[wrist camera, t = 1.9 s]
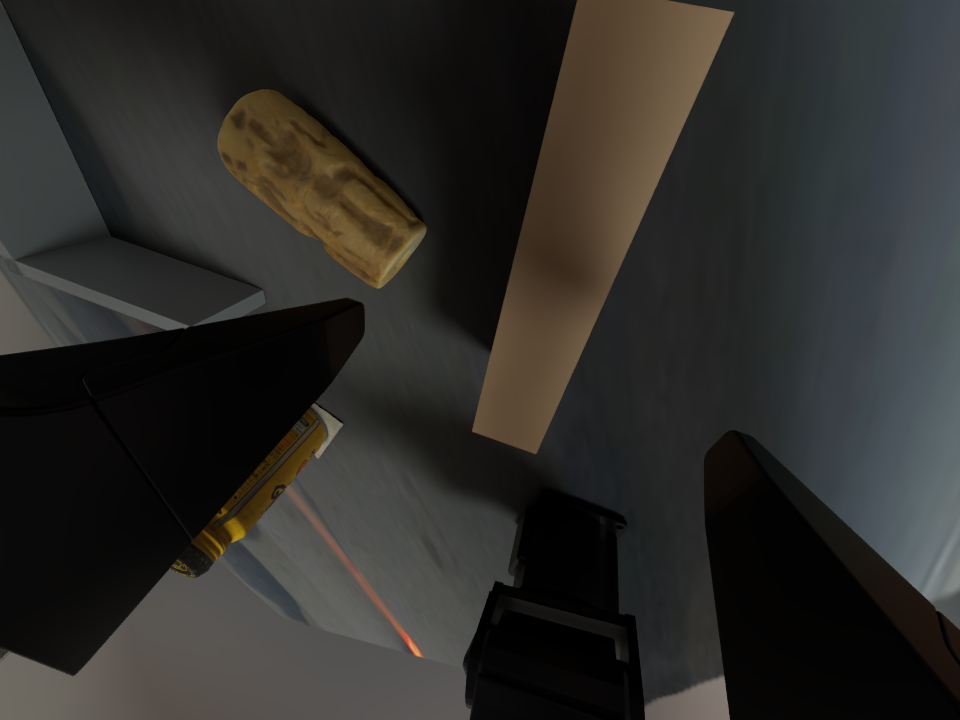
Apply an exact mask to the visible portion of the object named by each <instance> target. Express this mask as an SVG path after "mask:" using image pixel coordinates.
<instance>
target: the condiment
mask: <svg viewBox="0 0 960 720" xmlns="http://www.w3.org/2000/svg"><path fill="white" fill-rule="evenodd" d="M342 425H343V424H342V423H341V422H339V421H338V420H336V419H335V418H334V417H332V416H331V415H330V414H329V413H327V412H326V411H325V410H323V409H321V408H319V406H318V405H316V404H315V403H314V404H313V405H312V406H311V407H310V408H309V409H308V410H307V412H306V413H305V414H304V415H303V416H302V417H301V418H300V420H299V421H298V422H297V423H296V424H295V425H294V426H293V428H292V429H291V430H290V431H289V432H288V433H287V435H286V436H285V437H284V438H283V439H282V440H281V441H280V443H279V444H278V445H277V446H276V447H275V448H274V449H273V451H272V452H271V453H270V454H269V455H268V456H267V457H266V459H265V460H264V461H263V462H262V463H261V464H260V465H259V467H258V468H257V469H256V470H255V471H254V472H253V473H252V475H251V476H250V477H249V478H248V479H247V480H246V481H245V483H244V484H243V485H242V486H241V487H240V488H239V489H238V491H237V492H236V493H235V494H234V495H233V496H232V497H231V499H230V500H229V501H228V502H227V503H226V504H225V505H224V507H223V508H222V509H221V510H220V511H219V512H218V513H217V515H216V516H215V517H214V518H213V519H212V520H211V521H210V523H209V524H208V525H207V526H206V527H205V528H204V529H203V531H202V532H201V533H200V534H199V535H198V536H197V537H196V539H195V540H193V541H192V544H191V545H190V546H189V547H188V548H187V549H186V550H185V552H184V553H183V554H182V555H181V556H180V557H179V558H178V560H177V561H176V562H175V563H174V564H173V565H172V566H171V568H170V569H171V570H173V571H175V572H177V573H180V574H182V575H185V576H187V577H192V578H196V577H199V576H200V575H202V574H204V573H205V572H207V571H208V570H209V568H210V566H212V564H213V563H214V561H215V560H217V558H218V557H219V555H221V554H223V553H224V552H225V551H226V549H227V548H228V545H229V544H230V543H231V542H235V541H237V540H238V539H241V538H243V537H244V536H245V535H246V534H247V533H248V532H249V530H250V529H251V528H252V527H253V526H254V525H255V524H256V522H257V521H258V520H259V519H260V518H261V517H262V515H263V514H264V513H265V512H266V511H267V510H268V508H269V507H270V506H271V505H272V504H273V503H274V502H275V500H276V499H277V498H278V497H279V495H280V494H281V493H282V492H283V491H284V490H285V488H286V487H287V486H288V485H289V484H290V483H291V482H292V481H293V480H294V478H295V476H297V474H298V473H299V472H300V471H301V470H302V469H303V468H304V467H305V466H306V465H307V463H308V462H309V460H310V459H311V458H312V457H313V456H314V455H315V456H316V457H317V458H319V457H320V456H321V454H322V453H323V451H324V450H325V449H326V447H327V446H328V445H329V443H330V442H331V441H332V439H333V438H334V436H335V435H336V434H337V432H338V431H339V430H340V428H341V427H342Z"/></svg>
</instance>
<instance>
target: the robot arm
mask: <svg viewBox="0 0 960 720" xmlns="http://www.w3.org/2000/svg"><path fill="white" fill-rule="evenodd" d="M364 331H365V311H364V305H363V304H362V303H361V302H359V301H356V300H353V299H350V298H343V299H337V300H332V301H326V302H321V303H315V304H310V305H305V306H299V307H294V308H288V309H283V310H277V311H272V312H266V313H261V314H255V315H250V316H245V317H239V318H234V319H228V320H223V321H217V322H212V323H206V324H201V325H195V326H190V327H187V328H186V329H185V328H179V329H173V330H168V331H162V332H157V333H151V334H145V335H139V336H133V337H127V338H120V339H114V340H107V341H100V342H93V343H86V344H79V345H72V346H64V347H57V348H50V349H43V350H36V351H28V352H21V353H14V354H7V355H0V663H1V661H3V660H4V659H5V658H6V657H7V656H8V655H9V654H11V653H15V654H17V655H20V656H22V657H25V658H27V659H30V660H33V661H35V662H38V663H40V664H43V665H46V666H48V667H51V668H53V669H56V670H58V671H61V672H63V673H66V674H68V675H71V676H74V675H76V674H77V673H78V672H79V671H80V670H81V669H82V668H83V667H84V666H85V664H86V663H87V662H88V661H89V660H90V659H91V658H92V657H93V655H94V654H95V653H96V652H97V651H98V650H99V649H100V648H101V647H102V645H103V644H104V643H105V642H106V641H107V640H108V639H109V637H110V636H111V635H112V634H113V633H114V632H115V630H116V629H117V628H118V627H119V626H120V625H121V623H123V621H124V620H125V619H126V618H127V617H128V616H129V615H130V613H131V612H132V611H133V610H134V609H135V608H136V607H137V605H138V604H139V603H140V601H142V600H143V599H144V597H145V596H146V595H147V594H148V592H150V591H151V589H152V588H153V587H154V586H155V584H157V582H158V581H159V580H160V579H161V578H162V577H163V576H164V574H165V573H166V572H167V571H168V570H169V569H170V568H171V566H172V565H173V564H174V563H175V562H176V561H177V560H178V558H179V557H180V556H181V555H182V554H183V553H184V552H185V550H186V549H187V548H188V547H189V546H190V545H191V544H192V541H193V540H195V539H196V537H197V536H198V535H199V534H200V533H201V532H202V531H203V529H204V528H205V527H206V526H207V525H208V524H209V523H210V521H211V520H212V519H213V518H214V517H215V516H216V515H217V513H218V512H219V511H220V510H221V509H222V508H223V507H224V505H225V504H226V503H227V502H228V501H229V500H230V499H231V497H232V496H233V495H234V494H235V493H236V492H237V491H238V489H239V488H240V487H241V486H242V485H243V484H244V483H245V481H246V480H247V479H248V478H249V477H250V476H251V475H252V473H253V472H254V471H255V470H256V469H257V468H258V467H259V465H260V464H261V463H262V462H263V461H264V460H265V459H266V457H267V456H268V455H269V454H270V453H271V452H272V451H273V449H274V448H275V447H276V446H277V445H278V444H279V443H280V441H281V440H282V439H283V438H284V437H285V436H286V435H287V433H288V432H289V431H290V430H291V429H292V428H293V426H294V425H295V424H296V423H297V422H298V421H299V420H300V418H301V417H302V416H303V415H304V414H305V413H306V412H307V410H308V409H309V408H310V407H311V406H312V405H313V404H314V402H315V401H316V400H317V399H318V398H319V397H320V396H321V394H322V393H323V392H324V391H325V390H326V389H327V387H328V386H329V385H330V384H331V383H332V381H333V380H334V379H335V377H336V376H337V375H338V373H339V372H340V370H341V369H342V367H343V366H344V364H345V363H346V361H347V360H348V359H349V357H350V356H351V354H352V353H353V351H354V350H355V348H356V347H357V345H358V344H359V343H360V341H361V340H362V338H363V335H364ZM704 508H705V527H706V537H707V544H708V552H709V560H710V568H711V575H712V583H713V591H714V599H715V606H716V614H717V622H718V630H719V638H720V645H721V653H722V661H723V669H724V676H725V683H726V691H727V700H728V707H729V715H730V720H960V630H959V629H958V628H957V627H956V626H955V625H954V624H953V623H951V621H950V620H949V619H948V618H946V617H945V616H944V615H943V614H942V613H940V612H939V611H936V609H935V607H934V606H933V605H932V604H931V603H930V602H929V601H928V600H927V599H926V598H925V597H924V596H923V595H922V594H921V593H920V592H919V591H917V590H916V589H915V588H914V587H913V586H912V585H911V584H910V583H909V582H908V581H907V580H906V579H905V578H904V577H902V576H901V575H900V574H899V573H898V572H897V571H896V570H895V569H894V568H893V567H892V566H891V565H890V564H889V563H887V562H886V561H885V560H884V559H883V558H882V557H881V556H880V555H879V554H878V553H877V552H876V551H875V550H874V549H872V548H871V547H870V546H869V545H868V544H867V543H866V542H865V541H864V540H863V539H862V538H861V537H860V536H859V535H858V534H856V533H855V532H854V531H853V530H852V529H851V528H850V527H849V526H848V525H847V524H846V523H845V522H844V521H843V520H841V519H840V518H839V517H838V516H837V515H836V514H835V513H834V512H833V511H832V510H831V509H830V508H829V507H828V506H826V505H825V504H824V503H823V502H822V501H821V500H820V499H819V498H818V497H817V496H816V495H815V494H814V493H813V492H812V491H810V490H809V489H808V488H807V487H806V486H805V485H804V484H803V483H802V482H801V481H800V480H799V479H798V478H797V477H795V476H794V475H793V474H792V473H791V472H790V471H789V470H788V469H787V468H786V467H785V466H784V465H783V464H782V463H780V462H779V461H778V460H777V459H776V458H775V457H774V456H773V455H772V454H771V453H770V452H769V451H768V450H767V449H765V448H764V447H763V446H762V445H761V444H760V443H759V442H758V441H757V440H756V439H755V438H754V437H752V436H750V435H747V434H744V433H741V432H738V431H735V430H731V431H728V432H726V433H725V434H724V435H723V436H722V437H721V438H720V439H719V440H718V441H717V442H716V443H715V444H714V445H713V446H712V447H711V448H710V449H709V450H708V452H707V453H706V455H705V459H704ZM626 530H627V521H626V520H624V519H622V518H619V517H617V516H614V515H612V514H609V513H606V512H604V511H601V510H599V509H596V508H593V507H591V506H588V505H586V504H583V503H580V502H578V501H575V500H573V499H570V498H567V497H565V496H562V495H559V494H557V493H554V492H552V491H549V490H541V491H540V493H539V494H538V496H537V498H536V500H535V501H534V503H533V505H532V506H528V507H526V509H525V511H524V513H523V515H522V516H521V518H520V520H519V522H518V526H517V531H516V536H515V540H514V545H513V550H512V554H511V559H510V564H509V568H508V572H509V574H510V575H511V576H514V577H515V579H514V584H513V587H511V586H507V585H504V584H503V583H502V582H498V581H495V583H494V586H493V589H492V591H490V592H489V595H488V598H487V601H486V604H485V607H484V610H483V613H482V616H481V619H480V622H479V625H478V628H477V631H476V633H475V635H474V638H473V640H472V642H471V644H470V646H469V648H468V650H467V652H466V654H465V657H464V661H463V668H464V671H465V674H466V676H467V678H466V693H465V701H466V706H467V708H469V709H471V715H470V720H645V711H644V698H643V687H642V678H641V668H640V659H639V649H638V639H637V630H636V620H635V616H633V615H629V614H625V615H622V614H619V592H618V555H617V539H618V538H619V537H620V536H621V535H622V534H623V533H624V532H625V531H626ZM616 655H619V656H620V660H617V659H616Z"/></svg>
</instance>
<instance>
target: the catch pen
mask: <svg viewBox="0 0 960 720" xmlns="http://www.w3.org/2000/svg"><path fill="white" fill-rule="evenodd" d="M0 256H1V257H2V259H3V260H4V262H5V263H6V264H7V266H8V267H9V269H10V270H11V271H12V272H14V273H17V274H20V275H22V276H25V277H28V278H30V279H33V280H35V281H38V282H41V283H43V284H46V285H49V286H51V287H54V288H57V289H59V290H62V291H64V292H67V293H70V294H72V295H75V296H78V297H80V298H83V299H86V300H88V301H91V302H94V303H96V304H99V305H101V306H104V307H107V308H109V309H112V310H115V311H117V312H120V313H123V314H125V315H128V316H130V317H133V318H136V319H138V320H141V321H144V322H146V323H149V324H152V325H154V326H157V327H159V328H162V329H165V330H167V331H168V330H173V329H179V328H185V329H186V328H187V327H190V326H195V325H201V324H206V323H212V322H217V321H223V320H228V319H234V318H239V317H242V316H244V315H246V314H247V313H249V312H251V311H253V310H255V309H256V308H258V307H260V306H262V305H264V304H265V303H266V301H265V296H264V291H263V290H262V289H259V288H257V287H254V286H251V285H248V284H245V283H242V282H240V281H237V280H234V279H231V278H228V277H225V276H222V275H220V274H217V273H214V272H211V271H208V270H205V269H203V268H200V267H197V266H194V265H191V264H188V263H185V262H183V261H180V260H177V259H174V258H171V257H168V256H165V255H163V254H160V253H157V252H154V251H151V250H148V249H146V248H143V247H140V246H137V245H134V244H131V243H128V242H126V241H123V240H120V239H117V238H114V237H111V235H110V233H109V230H108V228H107V226H106V224H105V222H104V220H103V218H102V216H101V213H100V211H99V209H98V207H97V205H96V203H95V201H94V198H93V196H92V194H91V192H90V190H89V188H88V186H87V183H86V181H85V179H84V177H83V175H82V173H81V171H80V169H79V166H78V164H77V162H76V160H75V158H74V156H73V154H72V151H71V149H70V147H69V145H68V143H67V141H66V139H65V136H64V134H63V132H62V130H61V128H60V126H59V124H58V122H57V119H56V117H55V115H54V113H53V111H52V109H51V107H50V104H49V102H48V100H47V98H46V96H45V94H44V92H43V89H42V87H41V85H40V83H39V81H38V79H37V77H36V74H35V72H34V70H33V68H32V66H31V64H30V62H29V60H28V57H27V55H26V53H25V51H24V49H23V47H22V45H21V42H20V40H19V38H18V36H17V34H16V32H15V30H14V27H13V25H12V23H11V21H10V19H9V17H8V15H7V13H6V10H5V8H4V6H3V4H2V2H1V0H0Z"/></svg>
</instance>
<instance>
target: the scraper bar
mask: <svg viewBox="0 0 960 720" xmlns="http://www.w3.org/2000/svg"><path fill="white" fill-rule="evenodd" d="M733 14H734V12H729V11H723V10H718V9H712V8H707V7H701V6H695V5H690V4H684V3H678V2H673V1H667V0H577V4H576V8H575V12H574V16H573V20H572V24H571V28H570V32H569V36H568V40H567V44H566V49H565V53H564V57H563V61H562V65H561V69H560V73H559V77H558V81H557V85H556V89H555V94H554V98H553V102H552V106H551V110H550V114H549V118H548V122H547V126H546V130H545V134H544V139H543V143H542V147H541V151H540V155H539V159H538V163H537V167H536V171H535V175H534V179H533V184H532V188H531V192H530V196H529V200H528V204H527V208H526V212H525V216H524V220H523V224H522V229H521V233H520V237H519V241H518V245H517V249H516V253H515V257H514V261H513V265H512V269H511V274H510V278H509V282H508V286H507V290H506V294H505V298H504V302H503V306H502V310H501V314H500V319H499V323H498V327H497V331H496V335H495V339H494V343H493V347H492V351H491V355H490V359H489V364H488V368H487V372H486V376H485V380H484V384H483V388H482V392H481V396H480V400H479V404H478V409H477V413H476V417H475V421H474V425H473V429H472V432H475V433H478V434H480V435H483V436H486V437H489V438H492V439H494V440H497V441H500V442H503V443H506V444H509V445H511V446H514V447H517V448H520V449H523V450H525V451H528V452H531V453H534V454H536V453H537V451H538V449H539V447H540V444H541V442H542V440H543V438H544V435H545V433H546V431H547V429H548V426H549V424H550V422H551V420H552V418H553V415H554V413H555V411H556V409H557V406H558V404H559V402H560V400H561V397H562V395H563V393H564V391H565V389H566V386H567V384H568V382H569V380H570V377H571V375H572V373H573V371H574V369H575V366H576V364H577V362H578V360H579V357H580V355H581V353H582V351H583V348H584V346H585V344H586V342H587V340H588V337H589V335H590V333H591V331H592V328H593V326H594V324H595V322H596V319H597V317H598V315H599V313H600V311H601V308H602V306H603V304H604V302H605V299H606V297H607V295H608V293H609V290H610V288H611V286H612V284H613V282H614V279H615V277H616V275H617V273H618V270H619V268H620V266H621V264H622V262H623V259H624V257H625V255H626V253H627V250H628V248H629V246H630V244H631V241H632V239H633V237H634V235H635V233H636V230H637V228H638V226H639V224H640V221H641V219H642V217H643V215H644V212H645V210H646V208H647V206H648V204H649V201H650V199H651V197H652V195H653V192H654V190H655V188H656V186H657V184H658V181H659V179H660V177H661V175H662V172H663V170H664V168H665V166H666V163H667V161H668V159H669V157H670V155H671V152H672V150H673V148H674V146H675V143H676V141H677V139H678V137H679V134H680V132H681V130H682V128H683V126H684V123H685V121H686V119H687V117H688V114H689V112H690V110H691V108H692V105H693V103H694V101H695V99H696V97H697V94H698V92H699V90H700V88H701V85H702V83H703V81H704V79H705V77H706V74H707V72H708V70H709V68H710V65H711V63H712V61H713V59H714V56H715V54H716V52H717V50H718V48H719V45H720V43H721V41H722V39H723V36H724V34H725V32H726V30H727V27H728V25H729V23H730V21H731V19H732V16H733Z"/></svg>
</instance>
